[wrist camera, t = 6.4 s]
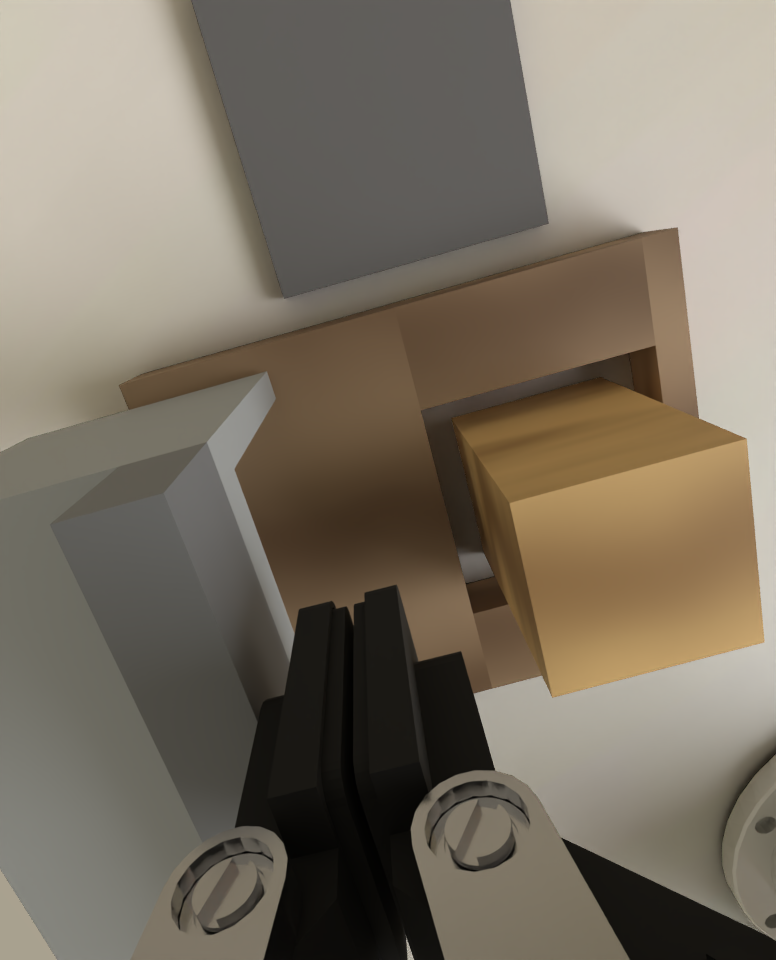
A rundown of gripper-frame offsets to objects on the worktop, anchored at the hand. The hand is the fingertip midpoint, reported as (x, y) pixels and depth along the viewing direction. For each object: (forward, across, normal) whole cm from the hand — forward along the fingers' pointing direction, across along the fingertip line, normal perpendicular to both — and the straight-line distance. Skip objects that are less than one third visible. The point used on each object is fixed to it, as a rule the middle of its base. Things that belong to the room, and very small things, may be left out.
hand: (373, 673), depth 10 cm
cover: (+9, +5, +2) cm, 10 cm away
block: (+11, -6, +2) cm, 13 cm away
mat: (+11, -3, -10) cm, 15 cm away
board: (+11, -2, +2) cm, 12 cm away
